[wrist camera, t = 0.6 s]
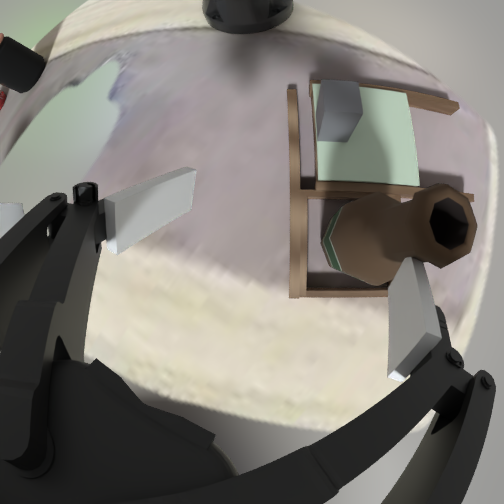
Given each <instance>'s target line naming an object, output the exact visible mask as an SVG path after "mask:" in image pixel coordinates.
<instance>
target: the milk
mask: <svg viewBox="0 0 504 504" xmlns="http://www.w3.org/2000/svg"><path fill="white" fill-rule="evenodd" d="M22 217H24V212H23V206H22V203H0V238H1V237H2V236H3V235H4V234H5V233H6V232H8V231H9V230H10V229H11V228H12V227H13V226H14V225H15V224H16V223H17V222H18V221H19V220H20V219H21V218H22Z"/></svg>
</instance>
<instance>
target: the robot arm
mask: <svg viewBox="0 0 504 504" xmlns="http://www.w3.org/2000/svg"><path fill="white" fill-rule="evenodd" d="M202 9H203V13H204V16H205V18H206V20H207V22H208V23H209V24H210V25H211V26H212V27H213V28H215V29H217V30H220V31H223V32H227V33H234V34H247V33H255V32H260V31H264V30H267V29H270V28H273V27H275V26H277V25H279V24H281V23H282V22H284V21H285V20H286V19H287V18H288V17H289V16H290V15H291V13H292V10H293V0H203V5H202ZM196 171H197V170H196V169H192V168H189V167H184V168H181V169H178V170H175V171H173V172H170V173H167V174H164V175H161V176H158V177H156V178H153V179H150V180H148V181H145V182H142V183H140V184H137V185H135V186H132V187H130V188H127V189H125V190H122V191H120V192H117V193H115V194H112V195H110V196H108V197H105V198H104V199H102V200H99V201H98V185H97V184H96V183H93V182H83V183H79V184H77V185H75V186H74V187H73V200H74V204H70V203H67V195H66V194H64V193H53V194H51V195H49V196H47V197H46V198H45V199H43V200H42V201H41V202H40V203H39V204H38V205H36V206H35V207H34V208H33V209H32V210H30V211H29V212H28V213H27V214H26V215H25V216H24V217H22V218H21V219H20V220H19V221H18V222H17V223H16V224H15V225H14V226H13V227H12V228H11V229H10V230H9V231H8V232H6V233H5V234H4V235H3V236H2V237H1V238H0V351H1V353H0V504H323V503H325V502H327V501H328V500H330V499H331V498H333V497H334V496H335V495H336V494H337V493H338V492H339V489H341V488H342V487H343V486H345V485H346V484H347V483H349V482H350V481H352V480H353V479H354V478H356V477H357V476H358V475H359V474H361V473H362V472H364V471H365V470H366V469H367V468H369V467H370V466H371V465H373V464H374V463H375V462H376V461H378V460H379V459H380V458H381V457H382V456H384V455H385V454H386V453H387V452H388V451H389V450H390V449H392V448H393V447H394V446H395V445H396V444H397V443H398V442H399V441H400V440H401V439H402V438H403V437H405V435H407V434H408V433H409V432H410V431H411V430H412V429H413V428H414V427H415V426H416V425H417V424H418V423H419V422H420V421H421V419H422V418H423V417H424V416H425V415H426V414H427V413H428V412H429V411H430V410H431V409H433V410H434V411H436V413H435V415H434V417H433V419H432V421H431V424H430V426H429V428H428V430H427V432H426V434H425V435H424V438H423V439H422V441H421V443H420V445H419V447H418V449H417V450H416V452H415V454H414V455H413V458H412V459H411V460H410V462H409V464H408V465H407V467H406V469H405V470H404V472H403V473H402V475H401V476H400V478H399V479H398V481H397V482H396V484H395V485H394V487H393V488H392V490H391V491H390V493H389V494H388V495H387V496H386V498H385V499H384V500H383V502H382V503H381V504H461V503H462V501H463V499H464V497H465V494H466V492H467V490H468V487H469V485H470V482H471V480H472V477H473V475H474V472H475V469H476V467H477V464H478V461H479V458H480V455H481V452H482V448H483V445H484V442H485V438H486V434H487V431H488V427H489V422H490V418H491V414H492V409H493V403H494V397H495V392H496V386H495V382H494V379H493V378H492V376H491V375H490V374H489V373H488V372H486V371H485V370H480V371H478V372H477V373H476V374H475V375H474V376H472V375H471V374H469V373H468V372H466V371H465V370H464V369H463V368H464V361H463V359H462V356H461V355H460V354H459V352H458V351H457V350H455V349H454V348H452V347H451V342H450V337H449V333H448V330H447V329H448V328H447V324H446V320H445V316H444V314H443V312H442V310H441V309H440V307H438V306H436V305H435V304H434V300H433V296H432V292H431V288H430V284H429V281H428V277H427V274H426V270H425V267H424V264H423V262H421V261H419V260H417V259H415V258H413V257H407V258H405V259H404V261H403V262H402V264H401V266H400V268H399V270H398V272H397V273H396V275H395V277H394V279H393V281H392V282H391V284H390V286H389V288H388V303H389V350H388V372H387V377H388V378H391V379H394V380H397V381H400V382H402V381H403V380H404V379H405V378H406V377H407V376H408V375H409V374H410V378H408V379H407V380H406V381H405V382H404V383H402V384H401V385H400V386H399V387H398V388H396V389H395V390H394V391H392V392H391V393H390V394H389V395H387V396H386V397H385V398H383V399H382V400H381V401H379V402H378V403H377V404H375V405H374V406H372V407H371V408H370V409H368V410H367V411H365V412H364V413H362V414H361V415H360V416H358V417H357V418H355V419H354V420H352V421H350V422H349V423H347V424H346V425H344V426H343V427H341V428H339V429H338V430H336V431H334V432H333V433H331V434H329V435H328V436H326V437H324V438H323V439H321V440H319V441H317V442H315V443H314V444H312V445H310V446H306V447H303V448H300V449H298V450H296V451H294V452H292V453H290V454H288V455H286V456H284V457H282V458H280V459H277V460H276V461H273V462H271V463H268V464H266V465H264V466H261V467H259V468H257V469H254V470H252V471H249V472H246V473H244V474H241V475H239V474H238V472H237V469H236V468H235V466H234V464H233V463H232V461H231V459H230V458H229V457H228V456H227V454H226V453H225V452H224V451H223V450H222V449H221V448H220V447H219V446H218V445H216V444H215V443H214V442H213V441H214V438H215V434H213V433H211V432H209V431H207V430H205V429H203V428H202V427H200V426H198V425H196V424H194V423H192V422H190V421H189V420H187V419H185V418H183V417H181V416H178V415H175V414H171V413H168V412H165V411H162V410H159V409H157V408H154V407H151V406H148V405H146V404H144V403H143V402H142V401H141V400H140V399H139V398H138V397H137V396H136V395H135V394H134V392H133V391H132V390H131V389H130V388H129V387H128V385H127V384H126V383H125V382H124V381H123V380H122V378H121V377H120V376H119V375H117V374H116V373H115V372H113V371H112V370H111V369H109V368H108V367H107V366H105V365H104V364H103V363H102V362H100V361H99V360H98V359H97V358H96V359H95V360H94V361H93V362H92V363H91V364H88V363H85V362H84V346H85V337H86V329H87V321H88V315H89V308H90V302H91V296H92V291H93V285H94V280H95V275H96V271H97V266H98V262H99V257H100V253H101V249H102V247H101V242H102V241H104V240H105V239H106V241H107V249H108V250H109V251H111V252H113V253H114V254H116V255H118V254H120V253H121V252H123V251H125V250H126V249H128V248H129V247H131V246H132V245H134V244H136V243H137V242H139V241H140V240H142V239H143V238H145V237H147V236H148V235H150V234H152V233H153V232H155V231H156V230H158V229H160V228H161V227H163V226H165V225H166V224H168V223H170V222H171V221H173V220H175V219H177V218H178V217H180V216H182V215H183V214H185V213H187V212H189V211H190V210H191V208H192V200H193V192H194V185H195V178H196ZM47 227H48V229H49V236H48V237H47Z"/></svg>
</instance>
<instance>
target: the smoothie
mask: <svg viewBox="0 0 504 504" xmlns="http://www.w3.org/2000/svg"><path fill="white" fill-rule="evenodd" d="M5 99H6V95H5V94H4V92H3V91H1V90H0V110H1V108H2V106H3V104H4V102H5Z"/></svg>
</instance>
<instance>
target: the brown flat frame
mask: <svg viewBox="0 0 504 504" xmlns="http://www.w3.org/2000/svg"><path fill="white" fill-rule="evenodd" d="M312 84H321V80H310V85H309V97H311V104H312V117H313V133H314V152H315V179H316V183H315V185H314V190H300V156H299V129H298V110H297V93H296V89H287V100H288V124H289V158H290V280H289V298H299V297H388V288H389V286H390V284H391V282H392V281H393V280H390V281H388V287H384V288H306V281H307V199H340V200H357V199H360V198H362V197H365V196H367V195H370V194H373V193H375V192H378V191H379V192H381V193H383V194H386V195H388V196H389V197H391V198H393V199H395V200H397V201H399V202H401V198H409V199H413V196H414V193H415V192H418V191H420V190H423V189H425V188H419V187H414V186H410V185H399V184H386V183H371V182H352V181H325V180H318V165H317V143H316V127H315V112H314V100H313V89H312ZM359 87H366V88H374V89H382V90H389V91H395V92H401V93H406V95H407V100H408V105H409V107H415V108H420V109H425V110H430V111H434V112H439V113H443V114H447V115H452V114H453V113H454V112H456V111H457V110H458V109H459V104H458V102H455V101H451V100H448V99H444V98H440V97H436V96H432V95H428V94H423V93H419V92H414V91H409V90H403V89H398V88H392V87H385V86H378V85H371V84H362V83H359ZM460 193H461V194H463V195H464V196H466V197H467V198H468V199H469V202H474V194H469V193H462V192H460Z"/></svg>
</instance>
